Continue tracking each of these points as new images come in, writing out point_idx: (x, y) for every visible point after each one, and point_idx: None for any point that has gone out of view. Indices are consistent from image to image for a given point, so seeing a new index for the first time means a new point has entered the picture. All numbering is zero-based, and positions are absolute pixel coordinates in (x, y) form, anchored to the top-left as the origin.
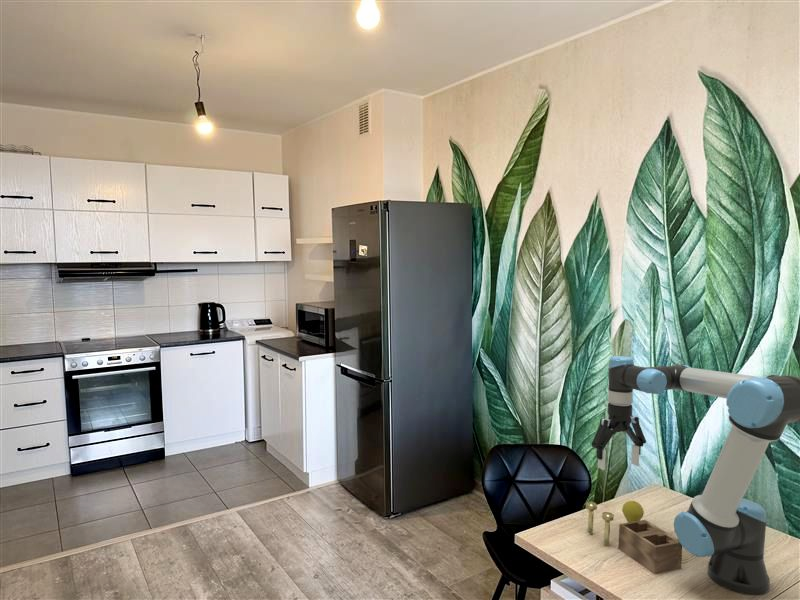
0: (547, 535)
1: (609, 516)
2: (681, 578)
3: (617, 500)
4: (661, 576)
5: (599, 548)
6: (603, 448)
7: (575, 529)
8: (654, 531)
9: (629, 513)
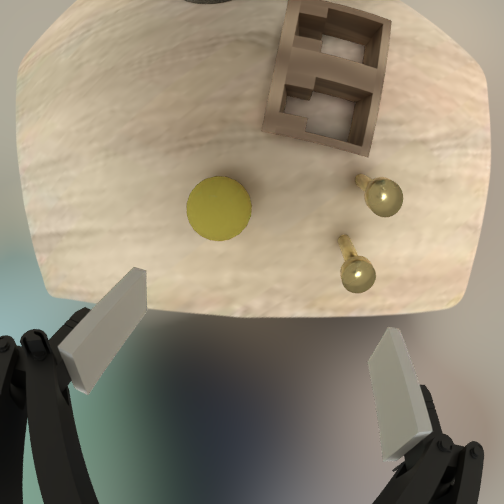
0: (426, 282)
1: (396, 185)
2: None
3: None
4: None
5: None
6: (434, 445)
7: None
8: (309, 64)
9: (248, 200)
